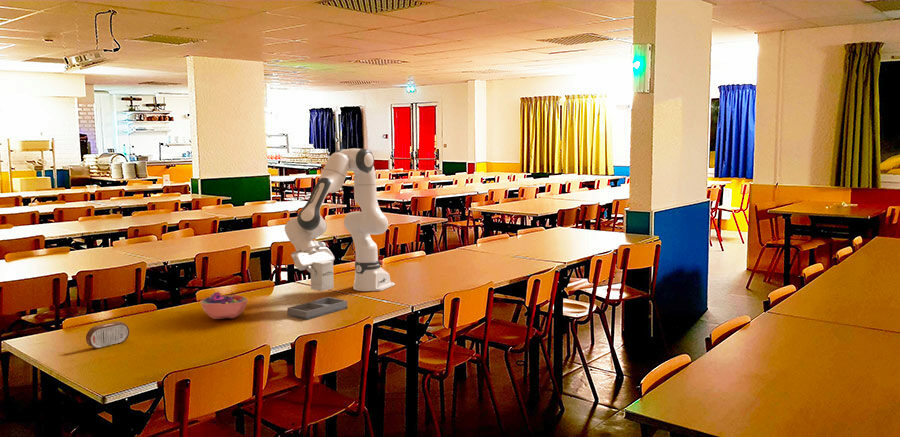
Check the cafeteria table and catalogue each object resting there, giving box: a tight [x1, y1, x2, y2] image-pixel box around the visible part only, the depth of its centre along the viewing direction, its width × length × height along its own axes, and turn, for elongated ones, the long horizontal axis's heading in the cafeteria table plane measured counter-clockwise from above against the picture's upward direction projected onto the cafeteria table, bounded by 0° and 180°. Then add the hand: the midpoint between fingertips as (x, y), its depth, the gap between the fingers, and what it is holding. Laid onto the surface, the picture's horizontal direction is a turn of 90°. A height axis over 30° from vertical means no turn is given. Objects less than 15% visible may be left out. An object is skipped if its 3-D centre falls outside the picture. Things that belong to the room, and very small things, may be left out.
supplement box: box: [310, 260, 335, 292], centre depth 301 cm, size 7×7×13 cm
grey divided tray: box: [287, 296, 348, 321], centre depth 297 cm, size 24×12×4 cm, turn 143°
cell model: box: [200, 291, 249, 320], centre depth 287 cm, size 17×20×11 cm
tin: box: [85, 321, 130, 349], centre depth 251 cm, size 15×3×8 cm, turn 141°
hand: (323, 273), depth 300 cm, fingers closed on supplement box, 7 cm apart
